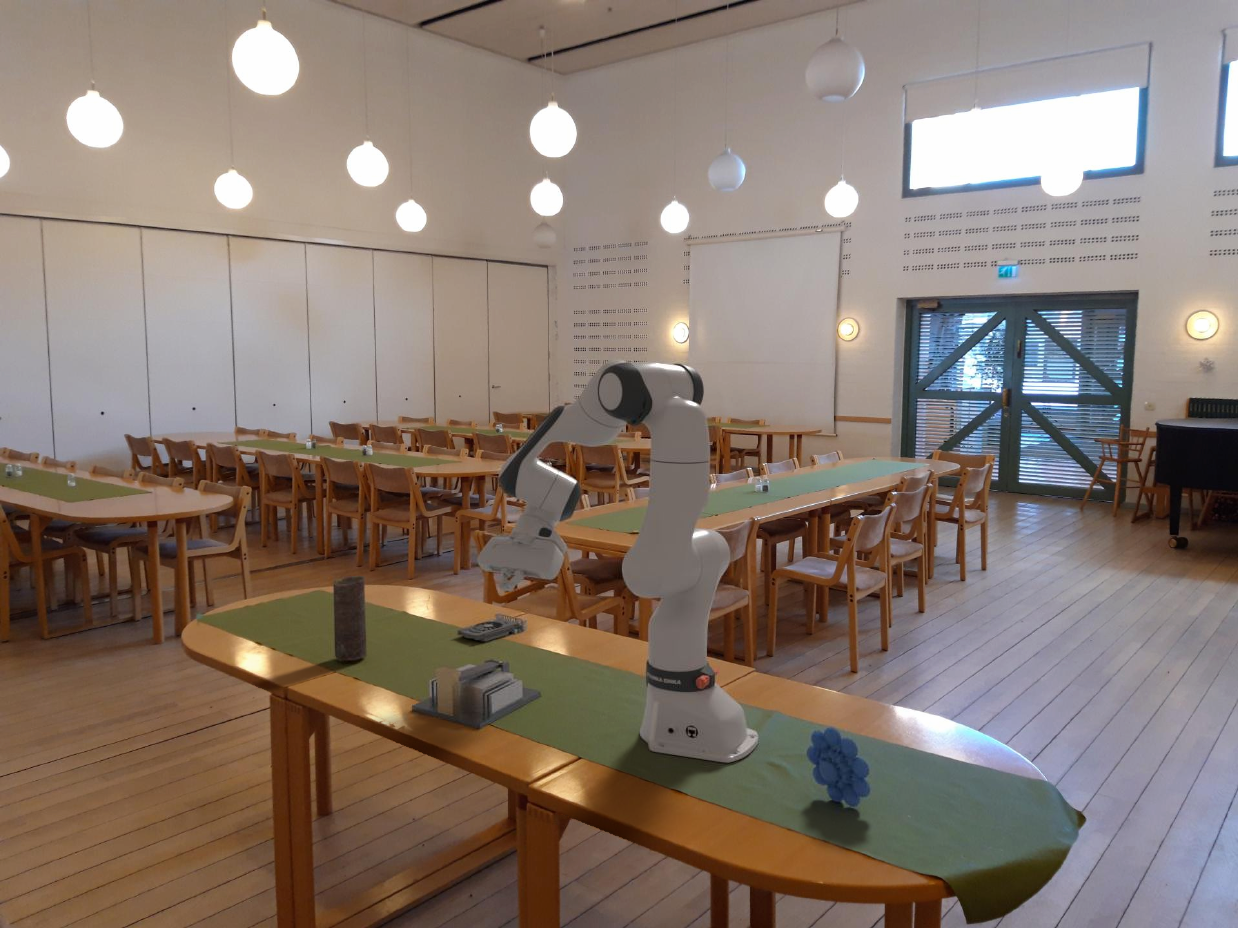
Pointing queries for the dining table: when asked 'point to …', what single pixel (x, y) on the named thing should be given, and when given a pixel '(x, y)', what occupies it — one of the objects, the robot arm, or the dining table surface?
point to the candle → (349, 618)
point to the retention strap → (479, 670)
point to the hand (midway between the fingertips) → (504, 589)
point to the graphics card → (494, 628)
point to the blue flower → (838, 766)
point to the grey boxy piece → (474, 696)
